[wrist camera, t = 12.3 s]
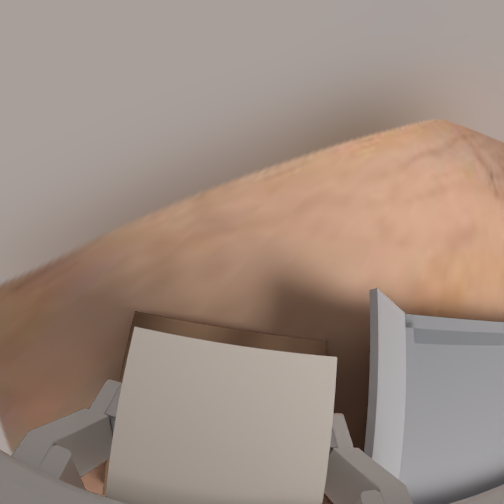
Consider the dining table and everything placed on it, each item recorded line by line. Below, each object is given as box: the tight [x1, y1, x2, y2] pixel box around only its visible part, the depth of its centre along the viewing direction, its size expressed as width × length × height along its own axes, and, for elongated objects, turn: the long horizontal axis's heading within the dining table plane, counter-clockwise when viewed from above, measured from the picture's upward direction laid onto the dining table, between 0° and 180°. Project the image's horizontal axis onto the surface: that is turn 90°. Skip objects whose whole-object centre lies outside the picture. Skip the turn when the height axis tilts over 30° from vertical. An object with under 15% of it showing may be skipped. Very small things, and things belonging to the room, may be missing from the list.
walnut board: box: [103, 311, 327, 495], centre depth 15 cm, size 11×11×1 cm
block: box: [105, 327, 337, 504], centre depth 10 cm, size 5×5×9 cm
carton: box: [364, 288, 504, 504], centre depth 14 cm, size 24×14×6 cm, turn 83°
